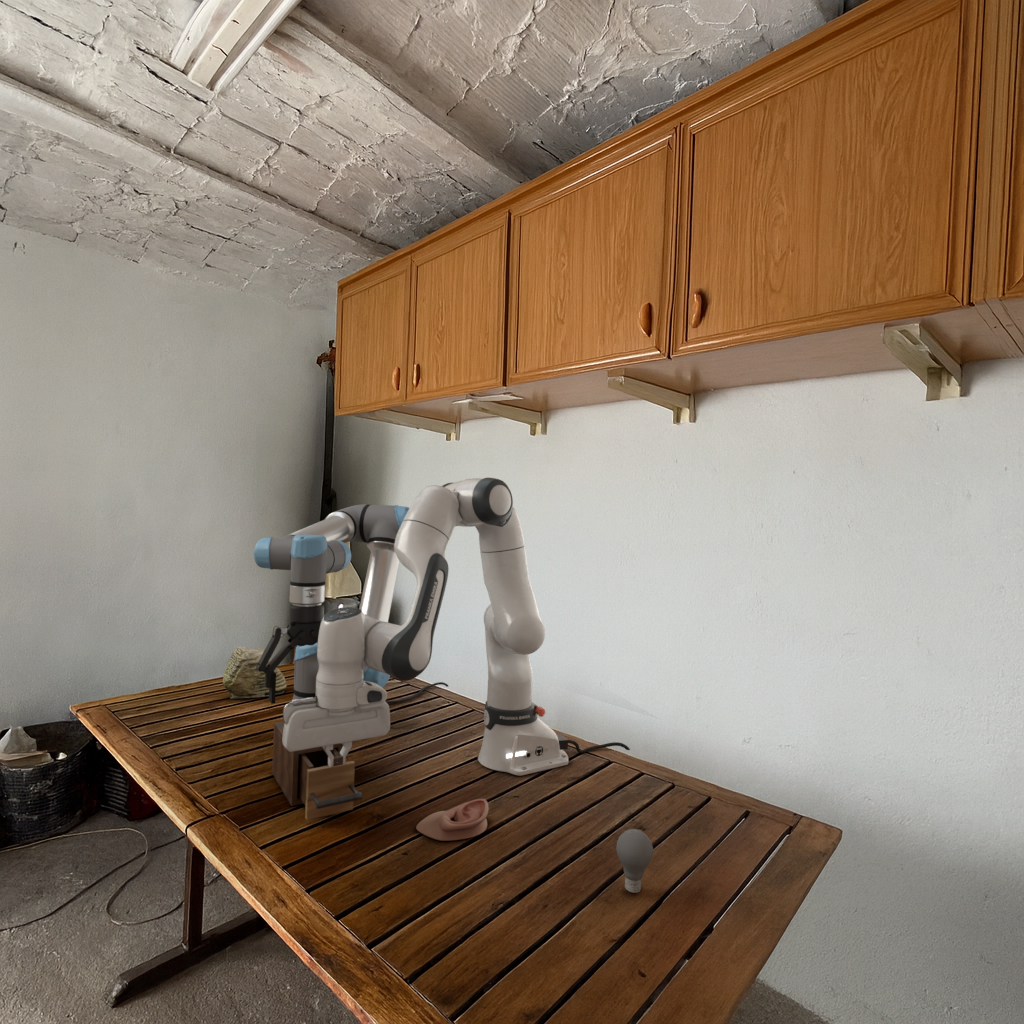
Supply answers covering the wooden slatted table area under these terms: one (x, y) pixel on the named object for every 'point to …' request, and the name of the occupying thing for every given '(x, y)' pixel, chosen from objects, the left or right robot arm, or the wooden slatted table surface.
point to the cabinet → (289, 765)
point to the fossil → (248, 675)
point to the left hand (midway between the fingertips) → (303, 697)
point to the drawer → (325, 785)
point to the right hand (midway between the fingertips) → (336, 764)
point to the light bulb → (634, 857)
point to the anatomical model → (456, 821)
